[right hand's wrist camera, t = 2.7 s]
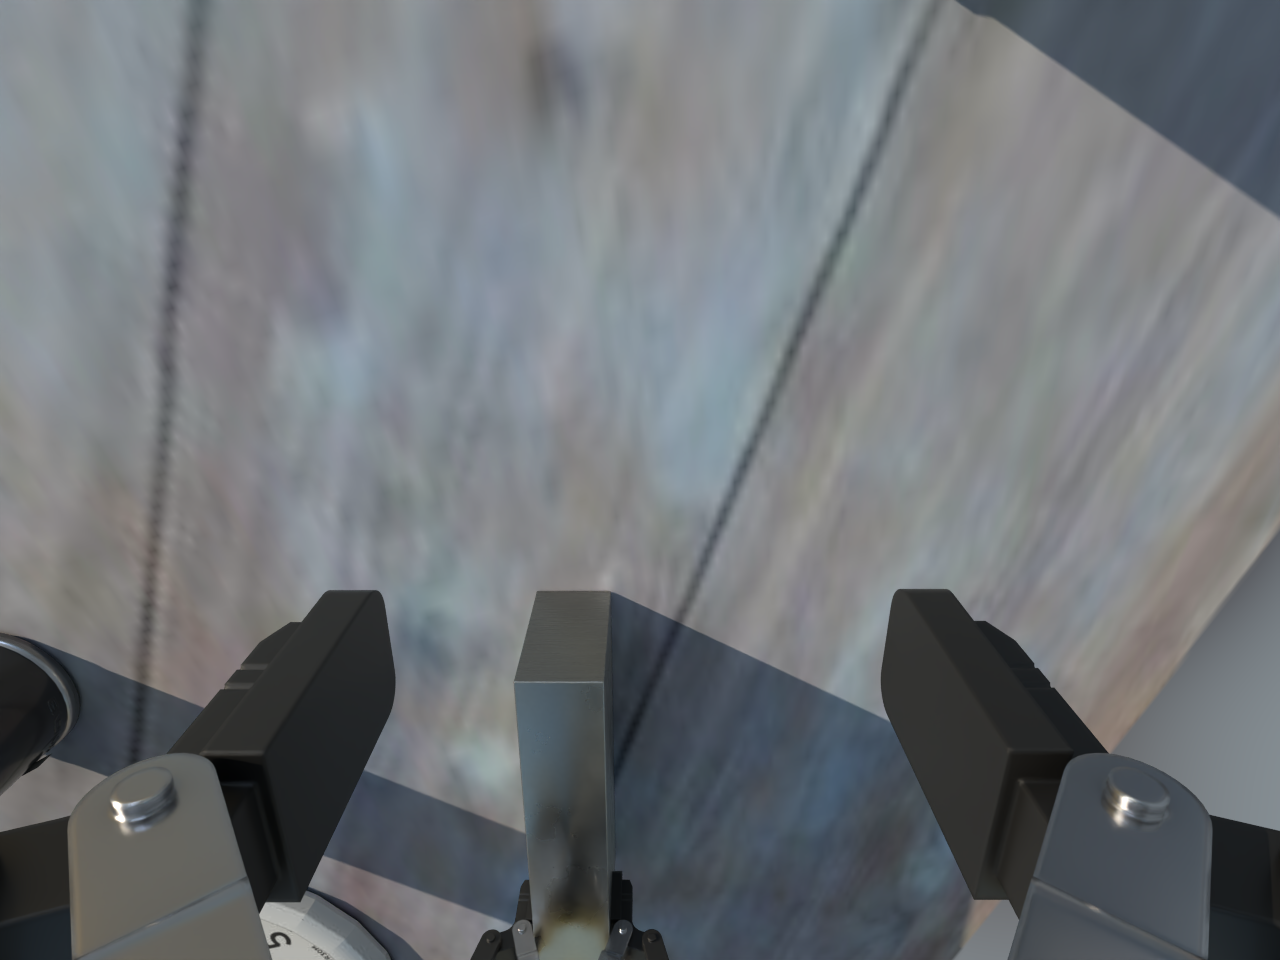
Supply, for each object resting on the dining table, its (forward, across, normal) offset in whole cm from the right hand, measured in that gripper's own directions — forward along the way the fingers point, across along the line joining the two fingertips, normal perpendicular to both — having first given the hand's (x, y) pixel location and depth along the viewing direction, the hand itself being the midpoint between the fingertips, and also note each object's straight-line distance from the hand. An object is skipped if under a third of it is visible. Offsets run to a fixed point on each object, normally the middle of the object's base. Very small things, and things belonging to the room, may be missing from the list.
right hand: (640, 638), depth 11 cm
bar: (+30, -4, -28) cm, 42 cm away
